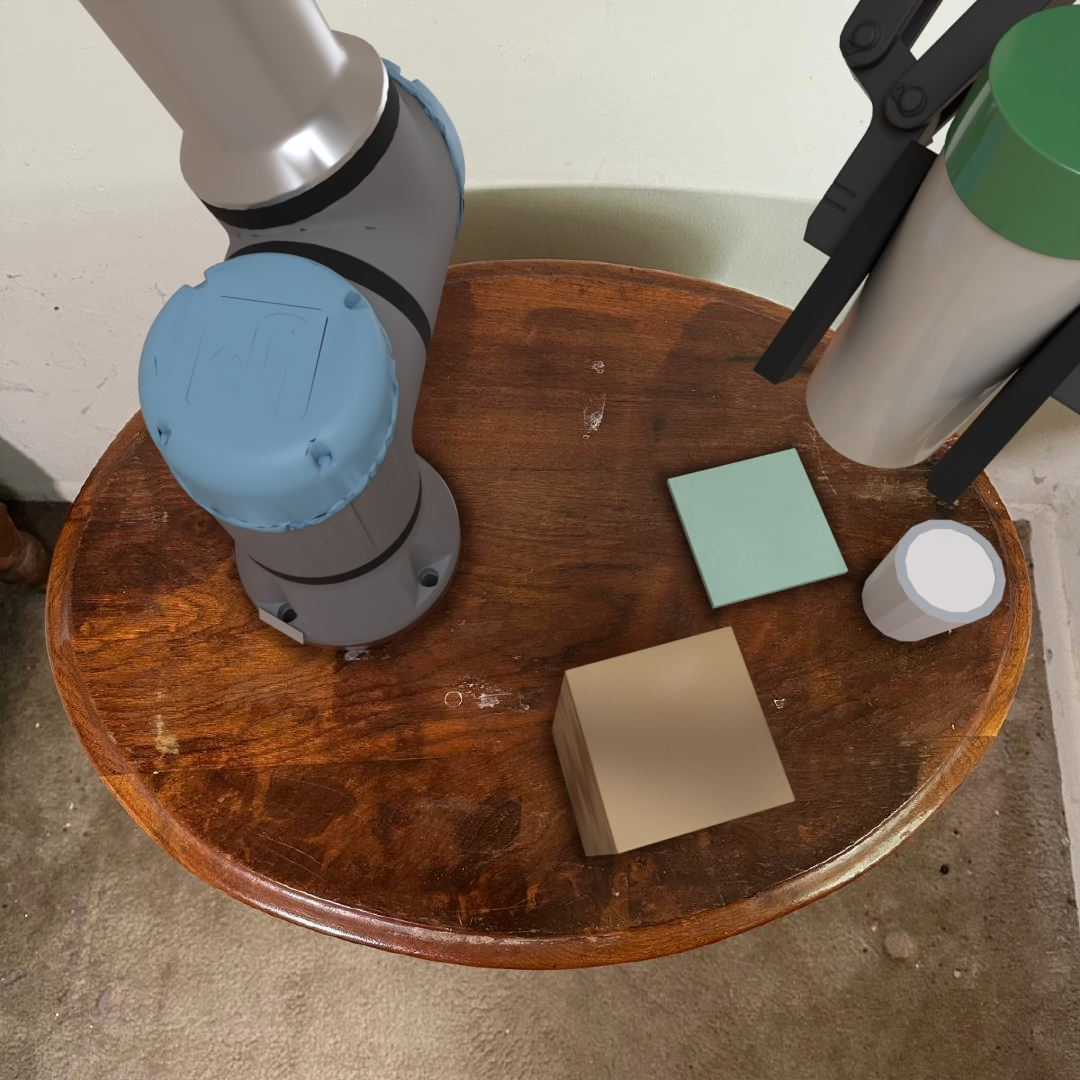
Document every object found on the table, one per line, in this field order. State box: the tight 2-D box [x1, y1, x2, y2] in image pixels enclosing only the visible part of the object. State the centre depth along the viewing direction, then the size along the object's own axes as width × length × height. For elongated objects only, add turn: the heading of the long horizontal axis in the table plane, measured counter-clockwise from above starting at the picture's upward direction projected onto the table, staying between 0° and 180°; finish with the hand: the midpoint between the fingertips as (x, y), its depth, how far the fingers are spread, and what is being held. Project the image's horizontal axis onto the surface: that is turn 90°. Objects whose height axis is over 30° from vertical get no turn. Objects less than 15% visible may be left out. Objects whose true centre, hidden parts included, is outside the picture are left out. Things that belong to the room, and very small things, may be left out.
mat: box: [666, 447, 849, 610], centre depth 59 cm, size 10×10×1 cm
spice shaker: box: [805, 3, 1080, 470], centre depth 22 cm, size 5×5×12 cm
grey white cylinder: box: [861, 519, 1007, 642], centre depth 54 cm, size 7×7×7 cm
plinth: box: [550, 626, 796, 857], centre depth 44 cm, size 8×8×18 cm
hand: (855, 428), depth 23 cm, fingers closed on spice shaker, 5 cm apart
